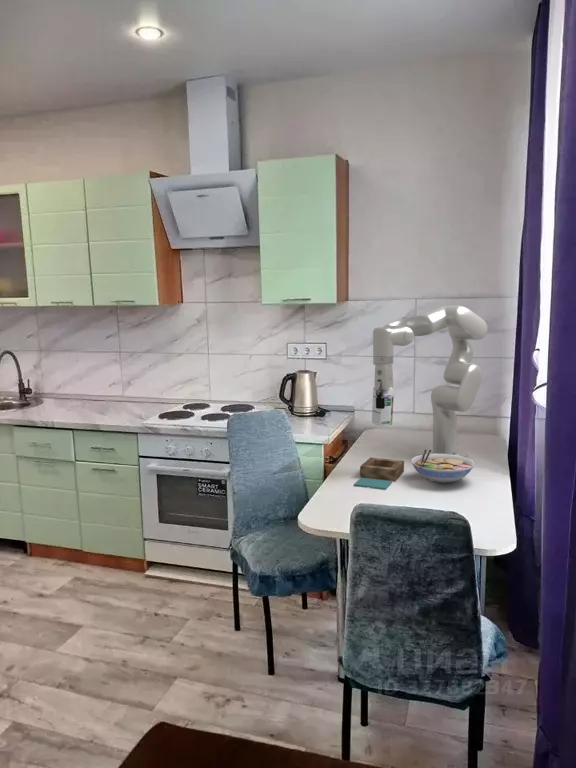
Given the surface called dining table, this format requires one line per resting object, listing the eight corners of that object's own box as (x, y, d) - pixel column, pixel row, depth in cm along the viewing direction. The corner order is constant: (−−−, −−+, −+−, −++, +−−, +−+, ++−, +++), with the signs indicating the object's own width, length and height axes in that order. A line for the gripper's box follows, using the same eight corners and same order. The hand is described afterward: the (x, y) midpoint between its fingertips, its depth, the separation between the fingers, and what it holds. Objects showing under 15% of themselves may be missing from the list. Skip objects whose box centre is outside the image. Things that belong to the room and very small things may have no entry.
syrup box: (380, 426, 225) (382, 388, 223) (370, 422, 230) (373, 385, 228) (392, 425, 228) (394, 387, 225) (382, 421, 233) (385, 384, 230)
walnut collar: (403, 471, 235) (404, 460, 234) (395, 481, 223) (395, 470, 222) (370, 468, 240) (370, 457, 240) (360, 477, 228) (360, 466, 228)
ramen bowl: (472, 494, 208) (472, 471, 206) (405, 487, 216) (405, 465, 214) (476, 473, 231) (476, 453, 230) (415, 468, 239) (416, 448, 238)
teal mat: (392, 482, 222) (392, 480, 222) (385, 489, 214) (385, 488, 214) (361, 478, 227) (361, 477, 227) (353, 485, 219) (353, 484, 219)
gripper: (386, 363, 216) (386, 411, 218) (398, 358, 231) (398, 402, 234) (366, 362, 219) (367, 410, 221) (379, 357, 234) (380, 401, 237)
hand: (383, 406), depth 228 cm, fingers closed on syrup box, 7 cm apart
